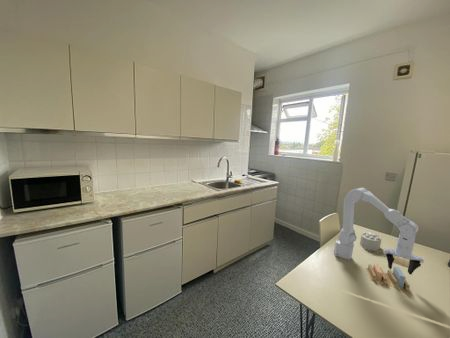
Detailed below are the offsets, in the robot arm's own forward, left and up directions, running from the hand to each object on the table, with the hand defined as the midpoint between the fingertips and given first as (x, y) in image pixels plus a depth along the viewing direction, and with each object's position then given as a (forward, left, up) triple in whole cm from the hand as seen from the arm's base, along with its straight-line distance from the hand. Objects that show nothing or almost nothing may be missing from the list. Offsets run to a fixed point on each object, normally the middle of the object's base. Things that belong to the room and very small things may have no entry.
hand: (399, 270), depth 93 cm
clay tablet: (+8, +24, -8) cm, 26 cm away
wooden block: (-8, 0, -6) cm, 10 cm away
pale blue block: (0, 0, -6) cm, 6 cm away
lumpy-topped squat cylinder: (-4, +37, -8) cm, 38 cm away
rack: (-4, 0, -7) cm, 8 cm away
